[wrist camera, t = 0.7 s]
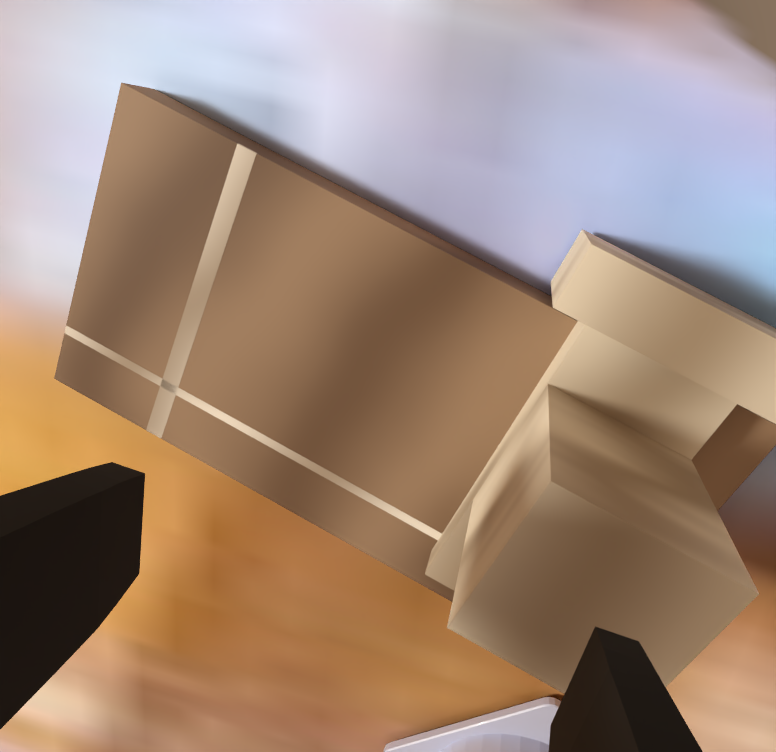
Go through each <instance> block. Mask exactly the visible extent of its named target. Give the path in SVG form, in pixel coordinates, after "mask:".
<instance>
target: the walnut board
mask: <svg viewBox="0 0 776 752" xmlns="http://www.w3.org/2000/svg"><path fill="white" fill-rule="evenodd" d="M577 322H578V320H576V319H574V318H572V317H570V316H568V315H566V314H564V313H562V312H560V311H558V310H557V309H555V308H553V304H552V296H550V295H548V294H546V293H544V292H542V291H540V290H538V289H536V288H534V287H533V286H531V285H529V284H527V283H525V282H523V281H521V280H519V279H517V278H515V277H513V276H511V275H510V274H508V273H506V272H504V271H502V270H500V269H498V268H496V267H494V266H492V265H490V264H488V263H487V262H485V261H483V260H481V259H479V258H477V257H475V256H473V255H471V254H469V253H467V252H465V251H464V250H462V249H460V248H458V247H456V246H454V245H452V244H450V243H448V242H446V241H444V240H442V239H441V238H439V237H437V236H435V235H433V234H431V233H429V232H427V231H425V230H423V229H421V228H419V227H418V226H416V225H414V224H412V223H410V222H408V221H406V220H404V219H402V218H400V217H398V216H396V215H395V214H393V213H391V212H389V211H387V210H385V209H383V208H381V207H379V206H377V205H375V204H373V203H372V202H370V201H368V200H366V199H364V198H362V197H360V196H358V195H356V194H354V193H352V192H350V191H349V190H347V189H345V188H343V187H341V186H339V185H337V184H335V183H333V182H331V181H329V180H327V179H326V178H324V177H322V176H320V175H318V174H316V173H314V172H312V171H310V170H308V169H306V168H304V167H303V166H301V165H299V164H297V163H295V162H293V161H291V160H289V159H287V158H285V157H283V156H281V155H280V154H278V153H276V152H274V151H272V150H270V149H268V148H266V147H264V146H262V145H260V144H258V143H257V142H255V141H253V140H251V139H249V138H247V137H245V136H243V135H241V134H239V133H237V132H235V131H234V130H232V129H230V128H228V127H226V126H224V125H222V124H220V123H218V122H216V121H214V120H212V119H211V118H209V117H207V116H205V115H203V114H201V113H199V112H197V111H195V110H193V109H191V108H189V107H188V106H186V105H184V104H182V103H180V102H178V101H176V100H174V99H172V98H170V97H168V96H166V95H165V94H163V93H161V92H159V91H157V90H155V89H151V88H146V87H140V86H135V85H130V84H125V83H121V87H120V91H119V96H118V100H117V104H116V109H115V113H114V118H113V122H112V126H111V131H110V135H109V140H108V144H107V148H106V153H105V157H104V162H103V166H102V171H101V175H100V179H99V184H98V188H97V193H96V197H95V201H94V206H93V210H92V215H91V219H90V223H89V228H88V232H87V237H86V241H85V245H84V250H83V254H82V259H81V263H80V267H79V272H78V276H77V281H76V285H75V289H74V294H73V298H72V303H71V307H70V311H69V316H68V320H67V325H66V329H65V333H64V338H63V342H62V347H61V351H60V356H59V360H58V364H57V369H56V373H55V378H54V379H56V380H58V381H60V382H61V383H63V384H65V385H67V386H69V387H70V388H72V389H74V390H76V391H77V392H79V393H81V394H83V395H85V396H86V397H88V398H90V399H92V400H93V401H95V402H97V403H99V404H101V405H102V406H104V407H106V408H108V409H110V410H111V411H113V412H115V413H117V414H118V415H120V416H122V417H124V418H126V419H127V420H129V421H131V422H133V423H134V424H136V425H138V426H140V427H142V428H143V429H145V430H147V431H148V432H150V433H152V434H154V435H156V436H157V437H159V438H161V439H163V440H165V441H167V442H168V443H170V444H172V445H174V446H175V447H177V448H179V449H181V450H183V451H184V452H186V453H188V454H190V455H191V456H193V457H195V458H197V459H199V460H200V461H202V462H204V463H206V464H207V465H209V466H211V467H213V468H215V469H216V470H218V471H220V472H222V473H224V474H225V475H227V476H229V477H231V478H232V479H234V480H236V481H238V482H240V483H241V484H243V485H245V486H247V487H248V488H250V489H252V490H254V491H256V492H257V493H259V494H261V495H263V496H264V497H266V498H268V499H270V500H272V501H273V502H275V503H277V504H279V505H281V506H282V507H284V508H286V509H288V510H289V511H291V512H293V513H295V514H297V515H298V516H300V517H302V518H304V519H305V520H307V521H309V522H311V523H313V524H314V525H316V526H318V527H320V528H321V529H323V530H325V531H327V532H329V533H330V534H332V535H334V536H336V537H338V538H339V539H341V540H343V541H345V542H346V543H348V544H350V545H352V546H354V547H355V548H357V549H359V550H361V551H362V552H364V553H366V554H368V555H370V556H371V557H373V558H375V559H377V560H379V561H380V562H382V563H384V564H386V565H387V566H389V567H391V568H393V569H395V570H396V571H398V572H400V573H402V574H403V575H405V576H407V577H409V578H411V579H412V580H414V581H416V582H418V583H419V584H421V585H423V586H425V587H427V588H428V589H430V590H432V591H434V592H436V593H437V594H439V595H441V596H443V597H444V598H446V599H448V600H450V601H452V602H453V597H454V592H455V591H454V590H452V589H450V588H448V587H447V586H445V585H443V584H441V583H439V582H438V581H436V580H434V579H432V578H431V577H429V576H427V575H425V572H426V568H427V565H428V561H429V558H430V554H431V551H432V549H433V547H434V546H435V544H436V543H437V541H438V540H439V538H440V536H441V535H442V533H443V532H444V530H445V529H446V527H447V525H448V524H449V522H450V521H451V519H452V518H453V516H454V514H455V513H456V511H457V510H458V508H459V507H460V505H461V503H462V502H463V500H464V499H465V497H466V496H467V494H468V492H469V491H470V489H471V488H472V486H473V485H474V483H475V481H476V480H477V478H478V477H479V475H480V474H481V472H482V471H483V469H484V467H485V466H486V464H487V463H488V461H489V460H490V458H491V456H492V455H493V453H494V452H495V450H496V449H497V447H498V445H499V444H500V442H501V441H502V439H503V438H504V436H505V434H506V433H507V431H508V430H509V428H510V427H511V425H512V423H513V422H514V420H515V419H516V417H517V416H518V414H519V412H520V411H521V409H522V408H523V406H524V405H525V403H526V402H527V400H528V398H529V397H530V395H531V394H532V392H533V391H534V389H535V387H536V386H537V384H538V383H539V381H540V380H541V378H542V376H543V375H544V373H545V372H546V370H547V369H548V367H549V365H550V364H551V362H552V361H553V359H554V358H555V356H556V354H557V353H558V351H559V350H560V348H561V347H562V345H563V343H564V342H565V340H566V339H567V337H568V336H569V334H570V333H571V331H572V329H573V328H574V326H575V325H576V323H577ZM775 445H776V424H775V423H773V422H771V421H769V420H767V419H765V418H763V417H761V416H759V415H757V414H755V413H754V412H752V411H750V410H748V409H746V408H744V407H742V406H740V405H738V404H737V405H736V406H735V407H734V409H733V410H732V411H731V412H730V413H729V415H728V416H727V417H726V418H725V420H724V421H723V422H722V423H721V424H720V426H719V427H718V428H717V429H716V431H715V432H714V433H713V434H712V435H711V437H710V438H709V439H708V440H707V441H706V443H705V444H704V445H703V446H702V448H701V449H700V450H699V451H698V452H697V454H696V455H695V456H694V457H693V459H692V462H693V464H694V466H695V468H696V470H697V472H698V474H699V476H700V478H701V480H702V482H703V484H704V486H705V488H706V490H707V492H708V494H709V496H710V498H711V500H712V502H713V504H714V506H715V508H716V510H717V511H718V510H719V509H720V508H721V506H722V505H723V504H724V503H725V502H726V501H727V500H728V499H729V497H730V496H731V495H732V494H733V493H734V492H735V491H736V490H737V488H738V487H739V486H740V485H741V484H742V483H743V482H744V480H745V479H746V478H747V477H748V476H749V475H750V474H751V473H752V471H753V470H754V469H755V468H756V467H757V466H758V465H759V464H760V462H761V461H762V460H763V459H764V458H765V457H766V456H767V455H768V453H769V452H770V451H771V450H772V449H773V448H774V447H775Z"/></svg>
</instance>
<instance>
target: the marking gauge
mask: <svg viewBox="0 0 776 752" xmlns="http://www.w3.org/2000/svg"><path fill="white" fill-rule="evenodd" d="M551 292H552V304H553V308H555V309H557V310H558V311H560V312H562V313H564V314H566V315H568V316H570V317H572V318H574V319H576V320H578V322H577V323H576V325H575V326H574V328H573V329H572V331H571V333H570V334H569V336H568V337H567V339H566V340H565V342H564V343H563V345H562V347H561V348H560V350H559V351H558V353H557V354H556V356H555V358H554V359H553V361H552V362H551V364H550V365H549V367H548V369H547V370H546V372H545V373H544V375H543V376H542V378H541V380H540V381H539V383H538V384H537V386H536V387H535V389H534V391H533V392H532V394H531V395H530V397H529V398H528V400H527V402H526V403H525V405H524V406H523V408H522V409H521V411H520V412H519V414H518V416H517V417H516V419H515V420H514V422H513V423H512V425H511V427H510V428H509V430H508V431H507V433H506V434H505V436H504V438H503V439H502V441H501V442H500V444H499V445H498V447H497V449H496V450H495V452H494V453H493V455H492V456H491V458H490V460H489V461H488V463H487V464H486V466H485V467H484V469H483V471H482V472H481V474H480V475H479V477H478V478H477V480H476V481H475V483H474V485H473V486H472V488H471V489H470V491H469V492H468V494H467V496H466V497H465V499H464V500H463V502H462V503H461V505H460V507H459V508H458V510H457V511H456V513H455V514H454V516H453V518H452V519H451V521H450V522H449V524H448V525H447V527H446V529H445V530H444V532H443V533H442V535H441V536H440V538H439V540H438V541H437V543H436V544H435V546H434V547H433V549H432V551H431V554H430V558H429V561H428V565H427V568H426V572H425V575H427V576H429V577H431V578H432V579H434V580H436V581H438V582H439V583H441V584H443V585H445V586H447V587H448V588H450V589H452V590H454V591H455V592H454V597H453V602H452V607H451V611H450V616H449V621H448V626H447V628H449V629H451V630H452V631H454V632H456V633H458V634H459V635H461V636H463V637H465V638H466V639H468V640H470V641H472V642H474V643H475V644H477V645H479V646H481V647H482V648H484V649H486V650H488V651H489V652H491V653H493V654H495V655H497V656H498V657H500V658H502V659H504V660H505V661H507V662H509V663H511V664H513V665H514V666H516V667H518V668H520V669H521V670H523V671H525V672H527V673H528V674H530V675H532V676H534V677H536V678H537V679H539V680H541V681H543V682H544V683H546V684H548V685H550V686H551V687H553V688H555V689H557V690H559V691H560V692H562V693H564V694H565V692H566V690H567V688H568V685H569V683H570V681H571V679H572V677H573V674H574V672H575V670H576V668H577V665H578V663H579V661H580V659H581V657H582V654H583V652H584V650H585V648H586V646H587V643H588V641H589V639H590V637H591V634H592V632H593V630H594V628H595V626H596V627H598V628H601V629H604V630H607V631H610V632H613V633H616V634H619V635H622V636H625V637H628V638H631V639H634V640H637V641H639V642H640V644H641V646H642V647H643V649H644V651H645V652H646V654H647V656H648V658H649V659H650V661H651V663H652V665H653V666H654V668H655V670H656V672H657V673H658V675H659V677H660V679H661V680H662V682H663V684H664V686H665V687H666V686H667V685H668V684H669V683H670V682H671V681H672V680H673V679H674V678H675V677H676V676H677V675H678V674H679V673H680V672H681V671H682V670H683V669H684V668H685V667H686V666H687V665H688V664H689V663H690V662H692V661H693V660H694V659H695V658H696V657H697V656H698V655H699V654H700V653H701V652H702V651H703V650H704V649H705V648H706V647H707V646H708V645H709V644H710V643H711V642H712V641H713V640H714V639H715V638H716V637H717V636H718V635H719V634H720V633H721V632H722V631H723V630H724V629H725V628H726V627H727V626H728V625H729V624H730V623H731V622H732V621H733V620H734V619H735V618H736V617H737V616H738V615H739V614H740V613H741V612H742V611H743V610H744V609H745V608H746V607H747V606H748V605H749V604H750V603H751V602H752V601H753V600H754V599H755V598H756V597H757V596H758V595H759V593H758V591H757V589H756V587H755V585H754V583H753V581H752V579H751V577H750V575H749V573H748V571H747V569H746V567H745V565H744V563H743V561H742V559H741V557H740V555H739V553H738V551H737V549H736V547H735V545H734V543H733V541H732V539H731V537H730V535H729V533H728V531H727V529H726V527H725V525H724V523H723V521H722V519H721V517H720V515H719V513H718V512H717V510H716V508H715V506H714V504H713V502H712V500H711V498H710V496H709V494H708V492H707V490H706V488H705V486H704V484H703V482H702V480H701V478H700V476H699V474H698V472H697V470H696V468H695V466H694V464H693V462H692V459H693V457H694V456H695V455H696V454H697V452H698V451H699V450H700V449H701V448H702V446H703V445H704V444H705V443H706V441H707V440H708V439H709V438H710V437H711V435H712V434H713V433H714V432H715V431H716V429H717V428H718V427H719V426H720V424H721V423H722V422H723V421H724V420H725V418H726V417H727V416H728V415H729V413H730V412H731V411H732V410H733V409H734V407H735V406H736V405H737V404H738V405H740V406H742V407H744V408H746V409H748V410H750V411H752V412H754V413H755V414H757V415H759V416H761V417H763V418H765V419H767V420H769V421H771V422H773V423H775V424H776V328H774V327H772V326H770V325H768V324H766V323H764V322H762V321H760V320H759V319H757V318H755V317H753V316H751V315H749V314H747V313H745V312H743V311H741V310H739V309H737V308H735V307H733V306H731V305H729V304H727V303H725V302H723V301H721V300H720V299H718V298H716V297H714V296H712V295H710V294H708V293H706V292H704V291H702V290H700V289H698V288H696V287H694V286H692V285H690V284H688V283H686V282H684V281H682V280H680V279H679V278H677V277H675V276H673V275H671V274H669V273H667V272H665V271H663V270H661V269H659V268H657V267H655V266H653V265H651V264H649V263H647V262H645V261H643V260H641V259H640V258H638V257H636V256H634V255H632V254H630V253H628V252H626V251H624V250H622V249H620V248H618V247H616V246H614V245H612V244H610V243H608V242H606V241H604V240H602V239H600V238H599V237H597V236H595V235H593V234H591V233H589V232H587V231H585V230H583V229H582V230H581V232H580V234H579V235H578V237H577V239H576V240H575V242H574V244H573V245H572V247H571V249H570V250H569V252H568V254H567V255H566V257H565V259H564V260H563V262H562V264H561V265H560V267H559V269H558V270H557V272H556V274H555V275H554V277H553V279H552V281H551Z"/></svg>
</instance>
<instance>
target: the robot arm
mask: <svg viewBox="0 0 776 752" xmlns="http://www.w3.org/2000/svg"><path fill="white" fill-rule="evenodd" d="M144 482H145V473H142V472H139V471H136V470H133V469H130V468H127V467H124V466H121V465H118V464H116V463H113V462H111V463H107V464H103V465H99V466H95V467H91V468H88V469H84V470H81V471H78V472H74V473H71V474H68V475H65V476H61V477H58V478H55V479H52V480H49V481H46V482H42V483H39V484H36V485H33V486H30V487H27V488H24V489H21V490H17V491H14V492H11V493H8V494H5V495H1V496H0V729H1V728H2V727H3V726H4V725H5V724H6V723H7V722H8V721H9V720H10V719H11V718H12V717H13V716H14V715H15V714H16V713H17V712H18V711H19V710H20V709H21V708H22V707H23V706H24V705H25V703H26V702H27V701H28V700H29V699H30V698H31V697H32V696H33V695H34V694H35V693H36V692H37V691H38V690H39V689H40V688H41V687H42V686H43V685H44V684H45V683H46V682H47V681H48V680H49V679H50V678H51V677H52V676H53V675H54V674H55V673H56V672H57V671H58V669H59V668H60V667H61V666H62V665H63V664H64V663H65V662H66V661H67V660H68V659H69V658H70V657H71V656H72V655H73V654H74V653H75V652H76V651H77V650H78V649H79V648H80V646H81V645H82V644H83V643H84V642H85V641H86V640H87V639H88V638H89V637H90V636H91V635H92V634H93V633H94V632H95V631H96V629H97V628H98V627H99V626H100V625H101V623H102V622H103V621H104V620H105V618H106V617H107V616H108V614H109V613H110V612H111V611H112V609H113V608H114V607H115V606H116V604H117V603H118V602H119V600H120V599H121V598H122V596H123V595H124V593H125V592H126V591H127V589H128V588H129V587H130V585H131V584H132V583H133V581H134V580H135V579H136V577H137V576H138V574H139V569H140V551H141V534H142V517H143V499H144ZM384 752H702V750H701V748H700V746H699V745H698V743H697V741H696V740H695V738H694V736H693V735H692V733H691V731H690V729H689V728H688V726H687V724H686V722H685V721H684V719H683V717H682V715H681V714H680V712H679V710H678V709H677V707H676V705H675V703H674V702H673V700H672V698H671V696H670V695H669V693H668V691H667V689H666V688H665V686H664V684H663V682H662V680H661V679H660V677H659V675H658V673H657V672H656V670H655V668H654V666H653V665H652V663H651V661H650V659H649V658H648V656H647V654H646V652H645V651H644V649H643V647H642V646H641V644H640V642H639V641H637V640H634V639H631V638H628V637H625V636H622V635H619V634H616V633H613V632H610V631H607V630H604V629H601V628H598V627H596V626H595V628H594V630H593V632H592V634H591V637H590V639H589V641H588V643H587V646H586V648H585V650H584V652H583V654H582V657H581V659H580V661H579V663H578V665H577V668H576V670H575V672H574V674H573V677H572V679H571V681H570V683H569V685H568V688H567V690H566V692H565V694H564V697H563V699H562V701H560V700H558V699H556V698H553V697H544V698H541V699H537V700H534V701H530V702H527V703H523V704H520V705H517V706H513V707H510V708H506V709H503V710H499V711H496V712H493V713H489V714H486V715H482V716H479V717H475V718H472V719H469V720H465V721H462V722H458V723H455V724H452V725H448V726H445V727H441V728H438V729H434V730H431V731H428V732H424V733H421V734H417V735H414V736H410V737H407V738H404V739H400V740H397V741H393V742H390V743H388V744H386V746H385V748H384Z"/></svg>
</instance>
